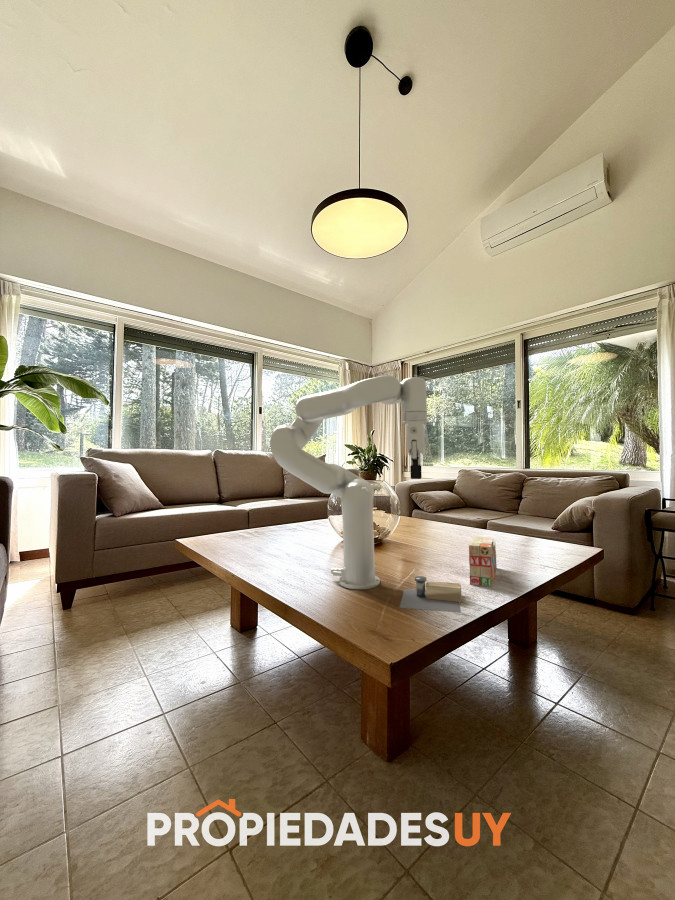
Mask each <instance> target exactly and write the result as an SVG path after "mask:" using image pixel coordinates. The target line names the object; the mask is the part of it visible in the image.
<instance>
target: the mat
mask: <svg viewBox="0 0 675 900" xmlns="http://www.w3.org/2000/svg"><path fill="white" fill-rule="evenodd" d="M460 604H461V602H455V601H446V600H436V599H427V598H426V589H425V597H424V598H419V597H417V592H416V589H413V588H404V589H403V592H402V597H401V601H400V605H399V609H400V608H401V609H409V610H411V609H412V610H424V611H425V610H426V611H439V612H451V613H461V612H462V610H461V605H460Z"/></svg>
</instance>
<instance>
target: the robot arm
mask: <svg viewBox="0 0 675 900" xmlns="http://www.w3.org/2000/svg"><path fill="white" fill-rule="evenodd" d="M376 403H381V404H383V405H387V406H390V405H396V404H401V424H402V425H405V433H406V435H405V437H406V438H405V439H406V449H407V455H408V456H409V457H410V466H409V467H410V469H409V471H410V472H409V473H410V479H411V480H421V479H422V465H421V464H422V462H421V456H425V455H426V446H425V445H426V442H425V441H426V440H425V439H426V437H425V436H426V435H425V424H428V410H427V408H428V406H427V382H426V379H425V378H424V377H417V376H416V377H415V376H413V377H411V376H410V377H407V378H404V379H403V380H402V381H400V380H399V379H398V378H397V377H396V376H394V375H391V374H384V375H380V376H379V375H378V376H374V377H370V378H366V379H362V380H360V381H356V382H353V383H351V384H348V385H345V386H341V387H338V388H335V389H331V390H327V391H322V392H317V393H314V394H312V393H311V394H309V395H305V396H302V397H300V398H298V400H297V401H296V403H295V407H294V408H295V409H294V411H295V414H296V417H295V419H294V420H293V422H292V423H291V424H282V425H279V426H277V427H276V428H275V429H274V430H272V432H271V435H270V440H269V442H270V443H269V446H270V451H271V454H272V457H273V458H274V460H275V461H276V463H277V464H278V465H279V466H280V467H281V468H282V469H283V470H285V471H286V472H288V473H290V474H291V475H293V476H294V477H296V478H298V479H300V480H301V481H303V482H304V483H306V484H308V485H310V486H311V487H313V488H314V489H316V490H318V491H319V492H321V493H323V494H327V495H329V494H332V495H334V496H336V497H337V498H340V505H341V515H342V517H341V518H342V541H343V543H342V544H343V547H342V548H343V567H340V568H338V567H331V568H330V569H331V570H330V574H331V575H333V576H334V577H340V578H339V579H338V582H339V583H338V584H339V585H340V586H341V587H343V588H346V589H350V590H368V589H372V588H376V587H378V586H379V585H380V584H381V580H380V579H381V578H380V577H379V576H377V575H376V570H375V538H374V537H375V536H374V534H375V533H374V532H375V531H374V510H373V509H374V508H373V507H374V506H373V504H374V503H373V501H374V497H375V491H374V487H373V486H372V484H371V483H370V482H369V481H368V480H366V479H364V478H362V477H360V476H359V475H357V474H355V473H353V472H352V471H350V470H348V469H346V468H345V467H342V466H340V465H339V464H335V463H329V462H328V463H327V462H325V461H323V460H322V459H319V458H317V457H316V456H314V455H313V454H311V453H309V452H307V451H305V450H303V448H305V447H306V446H307V444H308V443H309V441H310V440H311V439H312V437H313V436H314V435H315V433H316V431H317V430H318V429H319V427H320V426H321V424H322V423H323V421H324V420H326V419H331V418H337V417H342V416H346V415H349V414H351V413H352V412H354V411H356V410H357V409H359V408H361V407H365V406H368V405H372V404H376Z"/></svg>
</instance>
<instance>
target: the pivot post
mask: <svg viewBox="0 0 675 900" xmlns="http://www.w3.org/2000/svg"><path fill="white" fill-rule="evenodd" d="M414 581H415V584H416V585H415V588H416V589H415V590H416V592H417V597H419V598H424V597H425V590H426V582H428V581H427V577H426V576H423V575H420V576H419V575H417V576H415V577H414Z"/></svg>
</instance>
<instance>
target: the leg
mask: <svg viewBox="0 0 675 900" xmlns="http://www.w3.org/2000/svg"><path fill="white" fill-rule="evenodd" d="M437 582H438V581H426V582H425V590H426V598H427V599H436V600H446V601H455V602H459V603H462V598H463V597H462V584H460V585H459V584H448V583H449V582H445V583H437Z"/></svg>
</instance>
